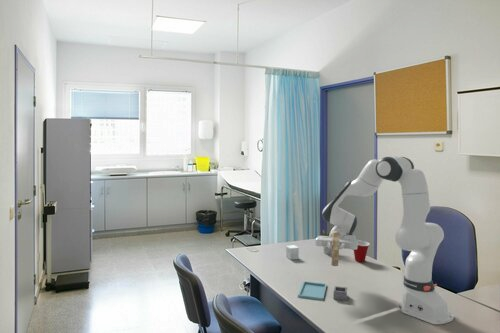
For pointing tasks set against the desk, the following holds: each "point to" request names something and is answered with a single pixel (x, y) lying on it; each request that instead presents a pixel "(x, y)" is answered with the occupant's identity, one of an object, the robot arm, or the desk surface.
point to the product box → (292, 252)
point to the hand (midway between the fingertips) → (335, 247)
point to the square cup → (340, 293)
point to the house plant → (327, 249)
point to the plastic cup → (361, 251)
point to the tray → (312, 290)
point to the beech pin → (335, 248)
